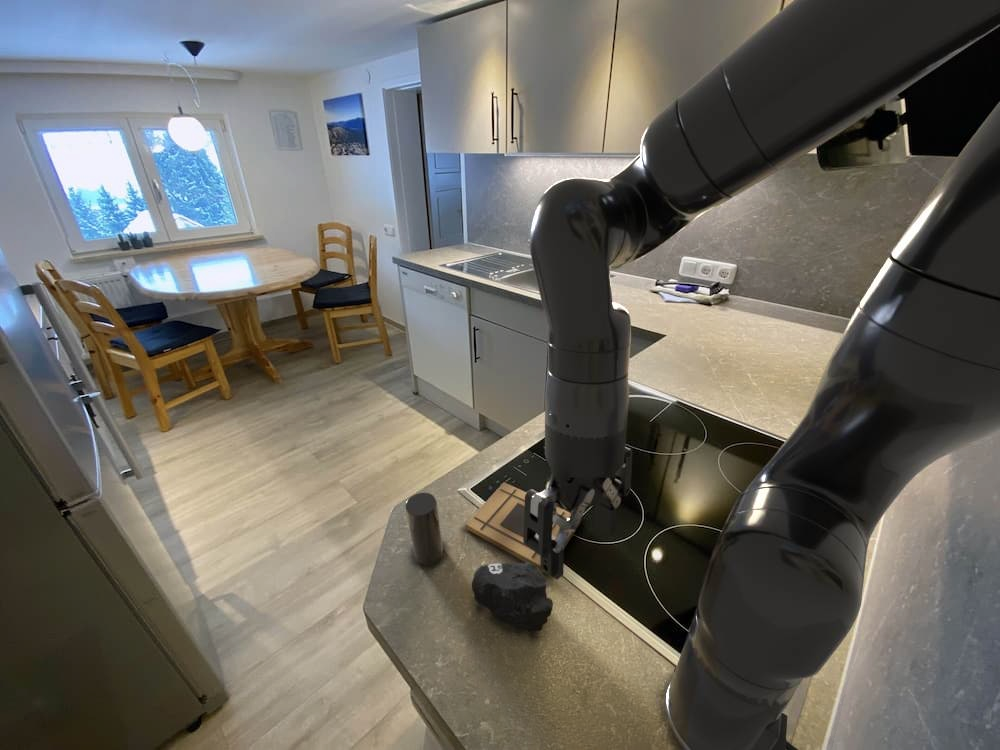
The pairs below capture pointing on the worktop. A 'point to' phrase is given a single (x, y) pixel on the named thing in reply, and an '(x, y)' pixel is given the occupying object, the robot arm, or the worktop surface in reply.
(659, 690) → the worktop surface
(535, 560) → the board
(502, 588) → the mineral
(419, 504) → the tall black cylinder
